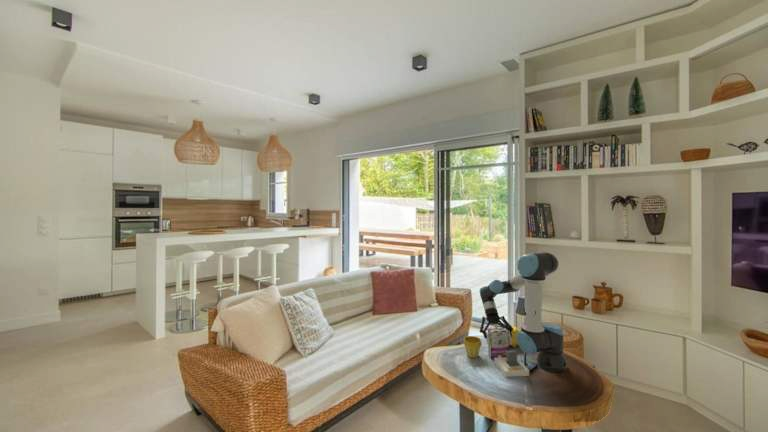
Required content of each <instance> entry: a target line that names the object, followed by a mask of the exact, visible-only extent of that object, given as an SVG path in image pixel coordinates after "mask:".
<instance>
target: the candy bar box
mask: <svg viewBox="0 0 768 432" xmlns="http://www.w3.org/2000/svg"><path fill="white" fill-rule="evenodd" d="M487 333H488V337H489V341H490V343H489V344H487V345H488V346H487V350H488V356H489V358H490V359H493V360H495V358H498V356H499V355H500V356H501V357H507V351H510V345H509V331H508V330H507V329H506V328H502V327H499V328H496V329H495V328H487Z"/></svg>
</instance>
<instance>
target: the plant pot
mask: <svg viewBox="0 0 768 432" xmlns="http://www.w3.org/2000/svg"><path fill="white" fill-rule="evenodd" d="M463 345H464V347H465V352H466V355H467V356H468V357H470V358H474V359H475V358H478V357H479V355H480V350H481V347H482V339H481V338H480V337H478V336H473V335H469V336H465V337H464V338H463Z"/></svg>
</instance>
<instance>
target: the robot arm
mask: <svg viewBox="0 0 768 432" xmlns="http://www.w3.org/2000/svg"><path fill="white" fill-rule="evenodd" d="M516 266H517V271H518V274H517V275H514V276H513V277H511V278H510V279H508V280H503V281H501V280H499V279H493V280H492V281H491V282H490V283H489V284H488V285H484V286H482V287H481V288H479V294H480V299H481V303H482V305H483V310H484V313H485V316H482V317H481V324H480V328H479V333H481V334H482V335H483V338H484V339H485V340H486V343H487V345H488V344H489V343H490V341H489V337H488V329H489V326H490V325H492V326H494V325H493V324H495V325H497V326H500V328H506V329H507V330H508V331H509V342H510V344H511V343H512V342H513V341H512V338H511V337H512V334H511V332H512V331H513V328H512V327H511V325H512V324H510V323H509V322H508V321H507V320H506V318H505V316H504V315H502V316H499V312H498V309H497V306H496V303H495V299H494V298H495V297H497V295H501V294H508V293H516V292H519V291H520V289H521V288H522V287H524V308H525V312H526V314H527V315H525V316H524V315H523V318H524V320H523V321H524V322H523V324H521V326H520V328H521V329H520V330H521V332H518V333H517V335H516V339H517V343H518V347H519V348H520V350H522V351H523V352H524V353H525V354H527V355H528V354H529V355H530V354H537V353H538V354H537V357H536V364H537V366H538V367H539V368H540V369H543V370H545V371H548V372H552V373H563V372H566V371H567V368H568V365H567V363H568V362H567V361H566V358H565V355H564V329H563V328H562V327H561V326H559V325H556V324H554V323H550V322H542V318H543V317H542V315H543V313H542V312H543V306H542V305H543V282H545V281H546V277H547V276H549V275H551V274H553V273H555V272H556V271H557V270H558V268H559V260H558V258H557V256H555V255H554V254H553V253H550V252H536V253H527V254H523V255H521V256H520V257H519V259H518V261H517V264H516ZM532 298H533V299H532ZM535 311H536V314H535ZM533 315H534V316H533ZM535 315H536V316H535ZM486 321H487V322H488V323H487V324H486V326H485V327H484V325H485V322H486Z"/></svg>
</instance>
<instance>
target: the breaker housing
mask: <svg viewBox="0 0 768 432" xmlns="http://www.w3.org/2000/svg"><path fill="white" fill-rule="evenodd" d="M505 361H507V357H501V356H500V355H499V356H498V358H495V359H494V364H495V365H496V367H497V368H498V369H499V371H500V372H501V374H502V375H503V377H505V378H506V377H508V378H510V377H527V376H528V377H529V376H530V370H529V368H528V367H527V366H526V365H525V364H524V363H523V362H522V361H521V360H520V359H519V358H518V357H517V362H518V364H519V366H509V365H508V364H507V363H506V362H505Z"/></svg>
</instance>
